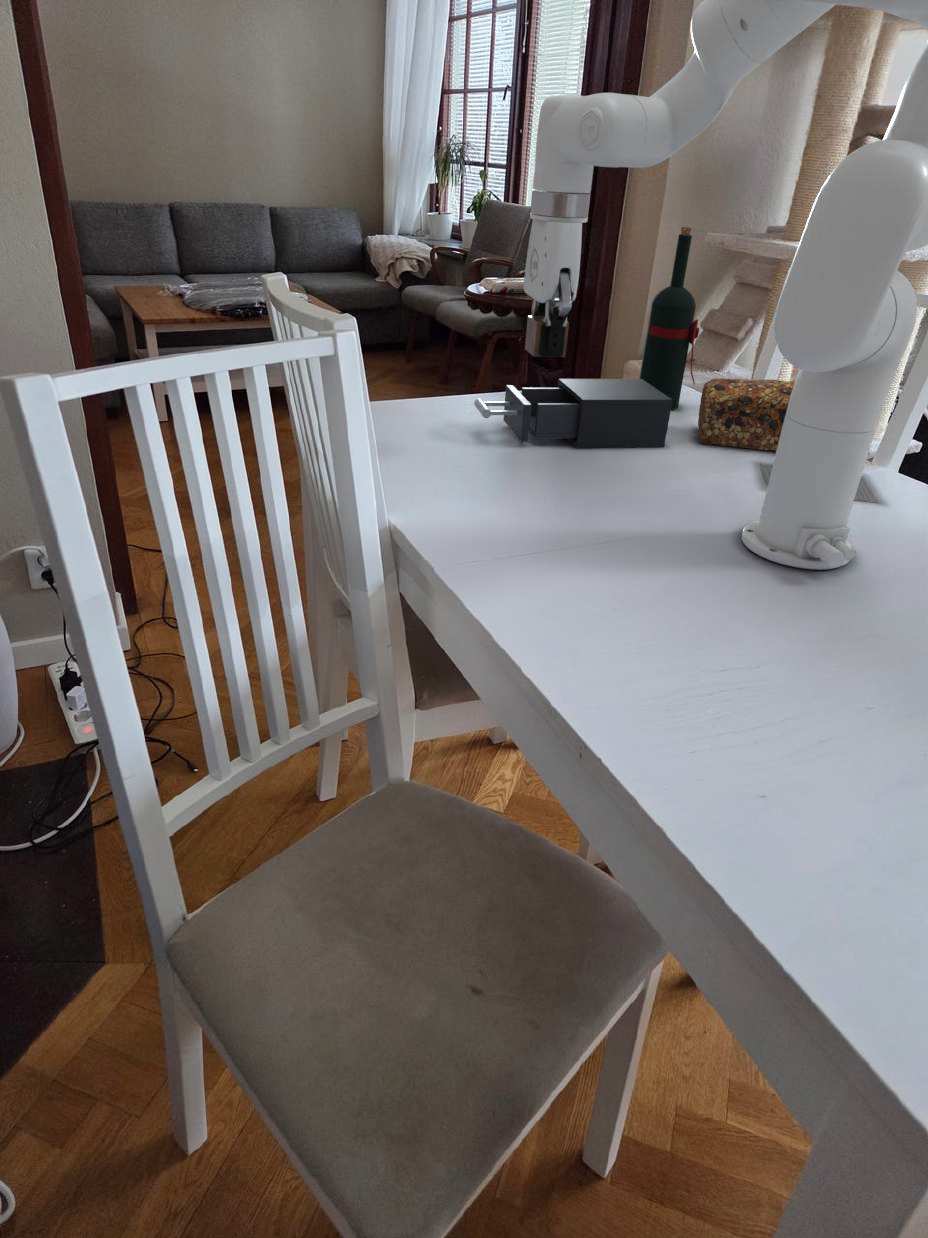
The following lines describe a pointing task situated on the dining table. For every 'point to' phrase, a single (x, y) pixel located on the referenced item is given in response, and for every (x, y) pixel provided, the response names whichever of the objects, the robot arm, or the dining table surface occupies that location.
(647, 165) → the robot arm
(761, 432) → the bread
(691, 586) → the dining table surface
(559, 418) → the drawer
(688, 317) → the wine bottle
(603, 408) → the cabinet
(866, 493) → the architectural model
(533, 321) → the block
